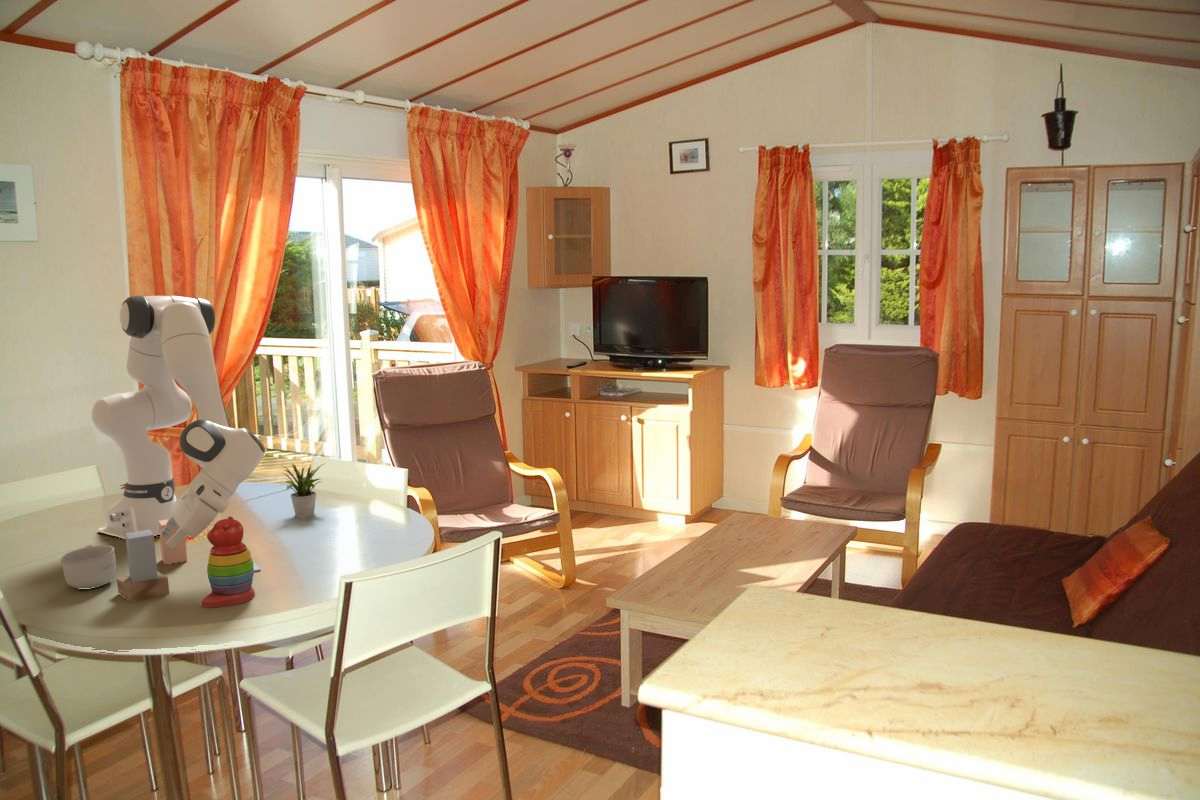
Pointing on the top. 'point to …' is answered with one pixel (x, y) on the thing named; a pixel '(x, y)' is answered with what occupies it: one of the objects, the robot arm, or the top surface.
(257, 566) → the slate swatch
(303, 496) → the house plant
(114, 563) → the teacup
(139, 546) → the slate pillar
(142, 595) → the walnut block
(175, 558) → the terracotta pillar
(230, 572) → the stacking bear
